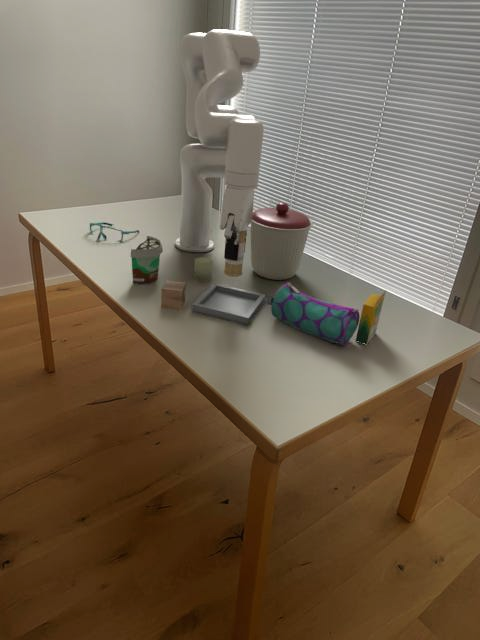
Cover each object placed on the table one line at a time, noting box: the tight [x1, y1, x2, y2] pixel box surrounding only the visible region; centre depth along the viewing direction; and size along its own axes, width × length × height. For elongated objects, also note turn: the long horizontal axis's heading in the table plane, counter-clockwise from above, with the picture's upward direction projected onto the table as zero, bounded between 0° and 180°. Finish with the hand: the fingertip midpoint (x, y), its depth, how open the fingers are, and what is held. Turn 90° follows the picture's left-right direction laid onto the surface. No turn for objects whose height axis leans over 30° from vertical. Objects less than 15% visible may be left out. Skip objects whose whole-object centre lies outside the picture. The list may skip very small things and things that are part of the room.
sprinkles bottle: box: [223, 223, 248, 278], centre depth 118 cm, size 5×5×13 cm
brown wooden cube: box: [160, 280, 187, 310], centre depth 123 cm, size 5×5×5 cm
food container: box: [130, 235, 164, 285], centre depth 134 cm, size 12×6×10 cm, turn 168°
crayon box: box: [355, 289, 387, 345], centre depth 116 cm, size 7×3×12 cm, turn 150°
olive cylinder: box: [193, 256, 214, 282], centre depth 139 cm, size 5×5×5 cm
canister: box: [250, 202, 314, 281], centre depth 143 cm, size 18×18×21 cm
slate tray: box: [191, 282, 267, 326], centre depth 125 cm, size 14×14×2 cm
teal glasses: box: [89, 221, 140, 242], centre depth 164 cm, size 14×15×5 cm
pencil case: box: [266, 282, 361, 347], centre depth 117 cm, size 21×9×10 cm, turn 52°
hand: (234, 255), depth 119 cm, fingers closed on sprinkles bottle, 4 cm apart
